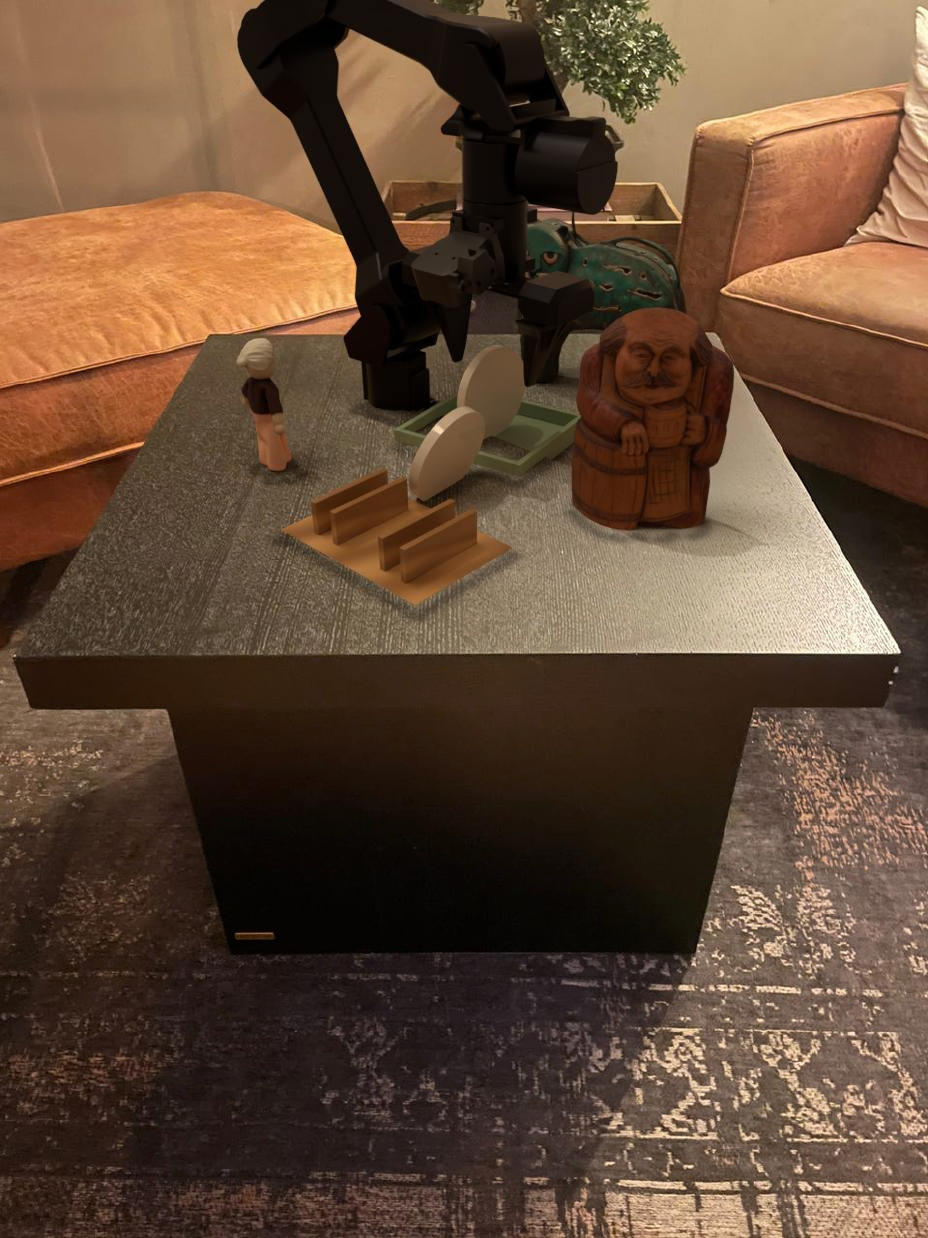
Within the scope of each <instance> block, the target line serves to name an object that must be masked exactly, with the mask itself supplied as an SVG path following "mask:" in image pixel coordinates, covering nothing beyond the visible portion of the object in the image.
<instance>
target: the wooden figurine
mask: <svg viewBox="0 0 928 1238" xmlns="http://www.w3.org/2000/svg"><path fill="white" fill-rule="evenodd" d="M598 341H599V343H595V344H594V345H592V346H591V347H589V348H588V349H587V350H586V351H584V353H583V355H582V356H581V360H580V367H579V378H578V379H579V380H578V389H577V394H576V400H575V402H576V408H577V411H578V413H579V414H580V416H581V417H580V419H578V421H577V424H576V428H575V434H574V443H572V444H573V445H572V454H571V455H572V457H571V501H572V505H573V507H574V508H575V509H576V510H577V511H578V512H579V513H580V514H582V515H583V517H585V518H587V519H588V520H590V521H592V522H594V523H596V524H598V525H600V526H603V527H607V528H609V529H610V528H611V529H613V530H619V531H633V530H635V529H636V528H647V529H648V528H649V529H660V528H669V527H670V528H671V527H672V528H675V529H683V530H685V529H692V528H696V527H698V526H700V525H702V524H703V523H704V522H705V519H706V515H707V509H708V508H707V507H708V502H709V501H708V500H709V493H710V485H711V473H710V472H711V471H710V469H711V468H713V467H715V466H716V465H717V464H718V463H719V461H720V460H721V457H722V454H723V451H724V448H725V442H726V438H727V433H728V428H727V427H728V421H729V418H730V413H731V405H732V399H733V394H734V393H733V392H734V384H735V383H734V382H735V367H734V363H733V361H732V359H731V358H730V356H729V355H728V353H726V352H725V351H723V350H722V349H720V348H718V347H717V346H716V345H713V344H712V342H711V340H710V339H709V337H708V335H707V333H706V332H705V330H704V329H703V327H702V326H701V325H700V324H699V323H698V322H697V321H696V320H695V319H694V318H693V317H691V316H690V315H688V314H687V315H686V314H684V313H682V312H681V311H677V310H674V309H667V308H660V307H656V308H644V309H638V310H635V311H633V312H630V313H628V314H626V315H624V316H623V317H621V318H618V319H617V320H615V321H614V322H613V323H612V324H611V325H610V326H609V327H608V328H606V329H605V330H604V331H603V330H602V332H601V334H600V335H599V340H598Z"/></svg>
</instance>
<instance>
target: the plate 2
mask: <svg viewBox="0 0 928 1238" xmlns="http://www.w3.org/2000/svg"><path fill="white" fill-rule="evenodd" d="M525 390H526V386H525V385H524V376H523V361H522V359H521V355H520V354H519V352H517V350H515V349H513V348H512V347H509V346H506V345H503V344H492V345H489V346H487V347H484V348H482V350H480V351H479V352H478V353H477V354H476V355H475V356H474V357H473V358H472V360H471V361H470V362H469V364H468V365H467V367H466V368H465V371H464V372H463V375H462V377H461V380H460V383H459V387H458V391H457V392H458V397H457V408H459V407H463V406H467V407H471V408H472V409H474V410H475V411H477V412H479V413H480V414H481V415H482V416H483V418H484V421H485V434H484V438H483V440H485V439H487V438H490V437H494V438H496V437H495V436H497V435H499V434H500V433H502V432H503V431H504V430H505V429H506V428H507V427H508V426H509V425H510V423H511V422H512V421H513V419H514V417H515V416H516V414H517V412H518V410H519V408H520V405H521V402H522V399H523V400H524V395H525Z"/></svg>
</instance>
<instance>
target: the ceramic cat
mask: <svg viewBox="0 0 928 1238" xmlns="http://www.w3.org/2000/svg"><path fill="white" fill-rule="evenodd" d="M601 211H602V212H603V213H605V211H606V206H605V207H604V208H603V209H602V210H601ZM576 229H577V228H576V221H575V212H571V224H569V223H568V222H567V221H564V220H562V219H560V218H557V217H549V218H546V219H545V218H544V219H542V220H540V219H539V218H537V221H535V222H532V223H528V227H527V255H526V256H530V257H534V258H535V270H532V271H529V272H526V273H525V277H528V278H532V279H535V278H538V277H541V276H544V275H547V274H550V273H553V272H556V271H560V272H564V273H568V274H572V275H576V276H580V277H584V278H588V279H589V281H590V282H591V284H592V285H593V287H594V291H595V295H594V307H593V311H592V312H589V313H587V314H584V315H582V316H580V318H578V319H576V320H573V321H571V322H569V323H568V325H567V326H566V328H565V329H564V331H563V332H562V334H561V335H560V337H559V338H558V340H557V342H556V344H555V345H554V347H553V349H552V351H551V353H550V355H549V357H548V359H547V361H546V363H545V365H544V367H543V369H542V371H541V373H540V374H539V376H538V378H537V380H536V382H535V383H539V384H540V383H546V382H548V381H550V380H551V379H553V377H555V376H556V375H558V374H559V370H560V356H561V353H562V352H561V351H562V348H563V345H564V343H566V341H567V339H568V337H569V335H570V334H571V332H575V331H583V330H596V331H602V332H603V331H604V330H605V329H606V328H608V327H609V326H610V325H611V324H612V323H613V322H614V321H615V320H617V319H618V318H621V317H623V316H624V315H626V314H628V313H630V312H633V311H635V310H638V309H644V308H656V307H660V308H667V309H674V310H677V311H681V312H682V313H684V314H686V315H688V312H687V306H686V299H685V293H684V290H683V287H682V283H681V282H682V281H681V275H680V270H679V268H678V265H677V263H676V261H675V259H674V258H673V256H672V255H671V254H670V252H669V251H668V250H667V249H666V248H665V247H662V246H661V245H659V244H658V243H655V242H653V241H651V240H648V239H645V238H641V237H638V236H637V237H636V236H630V235H629V236H621V237H616V238H613V239H607V240H602V241H597V242H593V241H591V240H588V239H586V238H584V237H583V236H582V235H581V234H580V233H578V231H577V230H576ZM628 241H629V242H635V243H639V244H642V245H644V246H646V247H648V248H652V249H654V250H656V251H658V252H659V253H660V254H661V255H662V256H664V258H665V259H666V260H667V261H668V263H669V264H670V265H671V266H672V268H673V269H672V268H671V267H670V266H669V265H668V264H667V263H666V262H665V261H664V260H663V259H662V258H661V257H659V255H657V254H655V253H654V252H651V251H649V250H647V249H644V248H642V247H639V246H637V245H633V244H628V243H623V242H628ZM673 270H674V271H673ZM674 272H675V273H674ZM519 344H520V354H521V355H520V357H521V359H522V361H523V359H524V333H523V332H522V331H521V332H520V337H519Z"/></svg>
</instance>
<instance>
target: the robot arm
mask: <svg viewBox="0 0 928 1238" xmlns="http://www.w3.org/2000/svg"><path fill="white" fill-rule="evenodd" d="M350 31H353V32H355V33H357V34H359V35H362V36H363V37H366V38H367V39H369V40H371V41H373V42H375V43H377V44H380V45H382V46H383V47H385V48H387V49H389V50H392V51H394V52H395V53H398V54H400V55H402V56H404V57H406V58H408V59H410V60H412V61H413V62H416V63H418V64H420V66H422V67H424V69H426V70H427V71H428V72H429V73H430V74H431V77H432V78H433V80H434V82H435V85H437V87H438V88H439V89H440V90H442V91H443V92H444V93H445V94H447V95H448V96H449V97H450V98H452V99H453V100H454V101H455V102H457V103H458V104H457V106H456V109H455V111H454V112H453V113H452V115H451V116H449V118H447V120H445V121H444V123H443V124H442V125H441V126H440V133H441V134H442V135H444V136H450V137H458V138H461V208H460V209H457V210H456V209H455V210H452V211H451V216H450V219H449V231H448V234H447V235H446V236H445V237H443V238H440V239H438V240H437V241H435V242H434V243H433V244H430V245H427V246H421V247H419V248H415V249H412V250H410V249H409V248H408V247H407V246H405V245H404V244H403V242H402V240H401V238H400V236H399V234H398V232H397V229H396V227H395V225H394V222H393V220H392V218H391V215H390V213H389V211H388V210H387V209H388V208H387V207H386V204H385V202H384V200H383V198H382V195H381V193H380V191H379V189H378V187H377V184H376V182H375V180H374V177H373V175H372V173H371V170H370V168H369V165H368V163H367V161H366V159H365V157H364V154H363V152H362V150H361V148H360V146H359V142H358V141H357V139H356V137H355V134H354V132H353V130H352V127H351V124H350V123H349V121H348V118H347V116H346V113H345V112H344V109H343V107H342V105H341V103H340V100H339V96H338V90H339V73H340V62H339V58H338V56H337V52H336V49H337V48H338V47H340V45H341V44H342V43H343V42H344V41H345V40H346V39H347V38H348V36H349V34H350ZM541 41H542V36H541V34H540V32H538V31H537V29H536V28H534V27H533V26H532V25H530V24H529V23H526V22H523V21H519V20H512V19H508V18H501V17H496V16H486V15H475V14H465V13H461V12H456V11H453V10H450V9H448V8H446V7H444V6H442V5H440V4H437V3H435V2H433V1H431V0H263V1H261V2H260V3H259V4H258V6H256V7H254V8H249V10H248V11H247V12H245V13H244V15H243V17H242V19H241V22H240V27H239V29H238V31H237V37H236V43H237V51H238V54H239V57H240V61H241V62H242V63H241V64H242V65H243V66H244V68H245V70H246V72H247V74H248V75H249V77H250V79H251V80H252V82H253V83H254V86H255V87H256V88H257V90H258V92H259V93H260V95H261V96H262V97H263V98H264V99H265V100H266V101H267V102H269V103H270V104H271V105H272V106H273V107H274V108H275V109H276V110H278V111H279V112H280V113H281V114H282V115H284V116H285V117H286V118H287V119H288V120H289V121H290V123H291V125H292V127H293V129H294V132H295V133H296V137H297V138H298V141H299V143H300V145H301V146H302V149H303V151H304V154H305V156H306V158H307V160H308V162H309V165H310V166H311V169H312V171H313V173H314V175H315V178H316V180H317V182H318V184H319V186H320V189H321V191H322V193H323V195H324V198H325V200H326V202H327V204H328V207H329V208H330V211H331V213H332V215H333V217H334V220H335V222H336V224H337V226H338V228H339V231H340V233H341V235H342V237H343V239H344V242H345V244H346V246H347V248H348V250H349V252H350V254H351V257H352V259H353V261H354V264H355V285H354V301H355V303H356V306H357V307H356V308H357V309H358V312H359V317H358V319H356V321H355V322H354V323H353V325H352V326H351V327H350V329H349V330H348V331H347V332H346V333H345V334H344V335H343V337H342V340H343V343H344V346H345V350H346V353H347V355H348V358H349V359H351V360H354V361H358V362H360V365H361V376H362V377H361V380H362V393H363V394H362V395H363V399H364V400H366V401H368V403H369V404H370V406H372V407H373V408H375V409H378V410H382V411H391V412H392V411H393V412H394V411H406V412H419V411H420V410H424V411H426V410H428V409H429V408H431V407H433V406H434V405H436V404H437V399H436V398H434V397H431V380H430V379H431V378H430V377H431V376H430V368H428V367H427V352H426V351H422V350H425V349H427V348H429V347H434V346H436V345H437V344H438V343H437V342H438V339H439V335H440V333H442V336H443V339H444V342H445V344H446V347H447V350H448V353H449V356H450V359H451V361H452V362H453V363H460V362H462V361H463V359H464V355H465V350H466V346H467V340H468V332H469V326H470V325H469V324H470V317H471V309H472V301H473V295H475V296H481V295H482V294H483V293H485V292H486V291H488V292H491V293H495V294H498V295H502V296H506V297H509V298H512V299H517V309H518V311H519V312H520V314H521V316H522V317H520V318H518V319H515V323H516V325H517V326H518V328H519V329H520V331H521V332H523V333H524V359H523V376H524V385H525V388H530V387H533V386H534V385H535V384H536V383H537V382H536V380H537V378H538V376H539V374H540V373H541V371H542V369H543V367H544V365H545V363H546V361H547V359H548V357H549V355H550V353H551V351H552V349H553V347H554V345H555V344H556V342H557V340H558V338H559V337H560V335H561V334H562V332H563V331H564V329H565V328H566V326H567V325H568V323H569V322H571V321H573V320H576V319H578V318H580V316H582V315H584V314H587V313H589V312H592V311H593V307H594V295H595V291H594V287H593V285H592V284H591V282H590V281H589V279H588V278H584V277H580V276H576V275H572V274H568V273H564V272H560V271H556V272H553V273H550V274H547V275H544V276H541V277H538V278H535V279H532V278H528V277H525V273H526V272H529V271H532V270H535V258H534V257H530V256H526V255H527V227H528V223H532V222H535V221H537V219H538V210H539V209H538V208H535V207H531V206H529V204H530V205H533V206H536V207H537V206H538V207H544V208H549V209H554V210H560V211H567V212H571V213H572V212H574V213H577V214H583V215H590V216H594V215H597V214H599V213H600V212H602V211H603V210H602V209H603V208H604V207H605V208H606V206H607V205H608V202H610V199H611V197H612V195H613V192H614V189H615V185H616V182H617V177H618V169H619V162H618V161H617V160H616V159H617V158H616V152H615V148H614V144H613V143H612V140H611V139H610V138H609V137H608V136H607V135H606V131H607V120H606V119H607V118H605V117H602V116H591V115H590V116H587V117H576V116H571V112H570V110H569V107H568V105H567V104H566V101H565V100H564V99H565V98H564V97H563V95H562V93H561V90H560V89H559V86H558V84H557V82H556V80H555V78H554V75H553V73H552V71H551V69H550V66H549V65H548V63H547V60H546V56H545V50H544V47H543V44H542V42H541Z"/></svg>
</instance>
